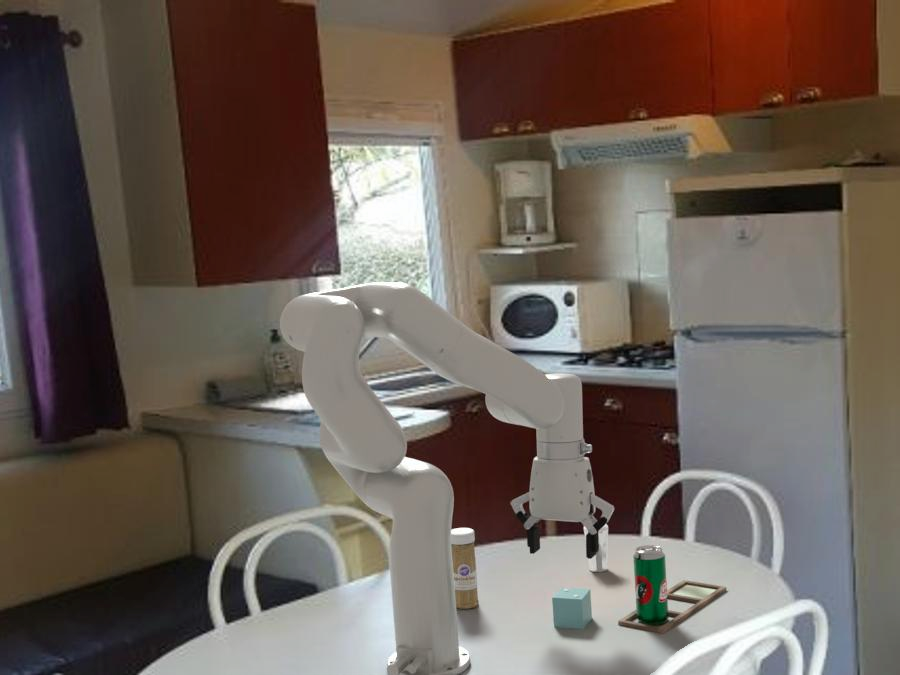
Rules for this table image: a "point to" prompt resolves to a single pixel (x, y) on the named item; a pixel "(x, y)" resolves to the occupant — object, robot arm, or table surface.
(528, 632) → the table surface
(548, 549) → the table surface
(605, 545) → the milkshake
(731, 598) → the table surface
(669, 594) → the wooden frame
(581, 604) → the die
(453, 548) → the sprinkles bottle
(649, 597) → the soda can
